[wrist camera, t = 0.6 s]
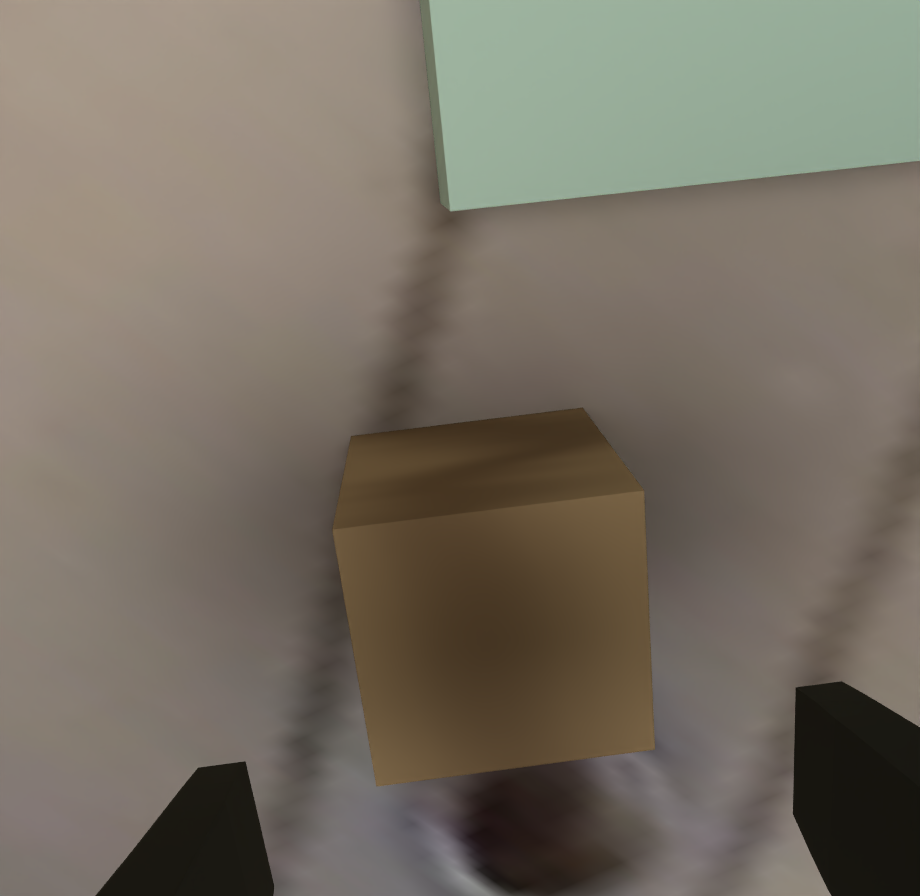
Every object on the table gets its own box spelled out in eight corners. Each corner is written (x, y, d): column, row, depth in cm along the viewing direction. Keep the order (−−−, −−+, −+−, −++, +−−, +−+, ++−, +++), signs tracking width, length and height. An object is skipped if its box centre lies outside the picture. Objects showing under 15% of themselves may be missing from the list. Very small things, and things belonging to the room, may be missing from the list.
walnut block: (581, 406, 18) (644, 490, 13) (594, 610, 20) (655, 749, 15) (351, 434, 18) (332, 529, 13) (383, 637, 20) (376, 786, 15)
